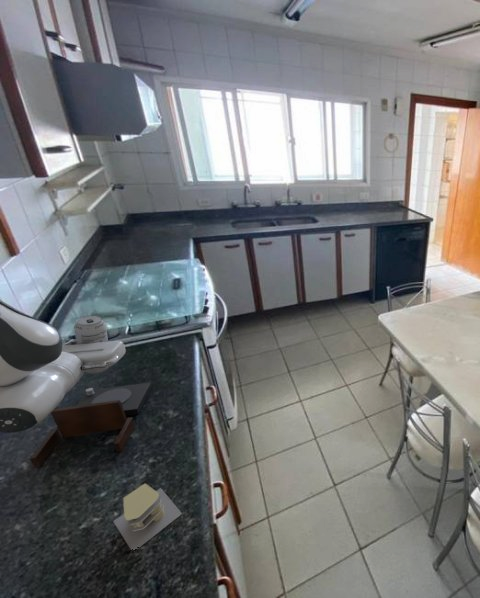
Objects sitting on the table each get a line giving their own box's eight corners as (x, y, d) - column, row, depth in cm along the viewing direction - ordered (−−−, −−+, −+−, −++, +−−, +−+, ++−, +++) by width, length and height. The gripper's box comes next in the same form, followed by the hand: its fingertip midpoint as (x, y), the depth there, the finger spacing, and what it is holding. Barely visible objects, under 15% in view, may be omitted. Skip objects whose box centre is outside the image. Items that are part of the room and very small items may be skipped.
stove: (68, 424, 89) (63, 414, 88) (89, 395, 99) (86, 386, 98) (138, 414, 94) (135, 404, 93) (152, 387, 105) (149, 378, 103)
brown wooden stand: (34, 467, 78) (19, 439, 74) (57, 436, 86) (44, 410, 82) (121, 451, 83) (111, 425, 79) (135, 423, 91) (126, 398, 87)
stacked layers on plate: (113, 521, 68) (103, 504, 66) (160, 487, 75) (153, 471, 73) (132, 552, 63) (123, 536, 61) (182, 513, 70) (175, 497, 67)
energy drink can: (108, 359, 93) (102, 312, 88) (113, 370, 90) (107, 322, 85) (79, 365, 89) (70, 317, 83) (83, 377, 86) (75, 327, 80)
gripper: (108, 354, 77) (131, 326, 89) (-9, 366, 70) (33, 333, 82) (116, 376, 80) (137, 345, 91) (4, 389, 73) (42, 355, 85)
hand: (87, 340), depth 87 cm, fingers closed on energy drink can, 3 cm apart
